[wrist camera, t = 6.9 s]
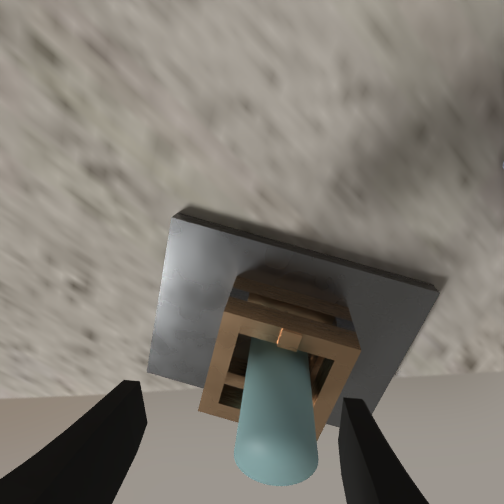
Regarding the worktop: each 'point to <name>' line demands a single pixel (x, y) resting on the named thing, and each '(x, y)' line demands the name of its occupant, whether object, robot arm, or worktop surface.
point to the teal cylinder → (276, 417)
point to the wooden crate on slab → (279, 317)
